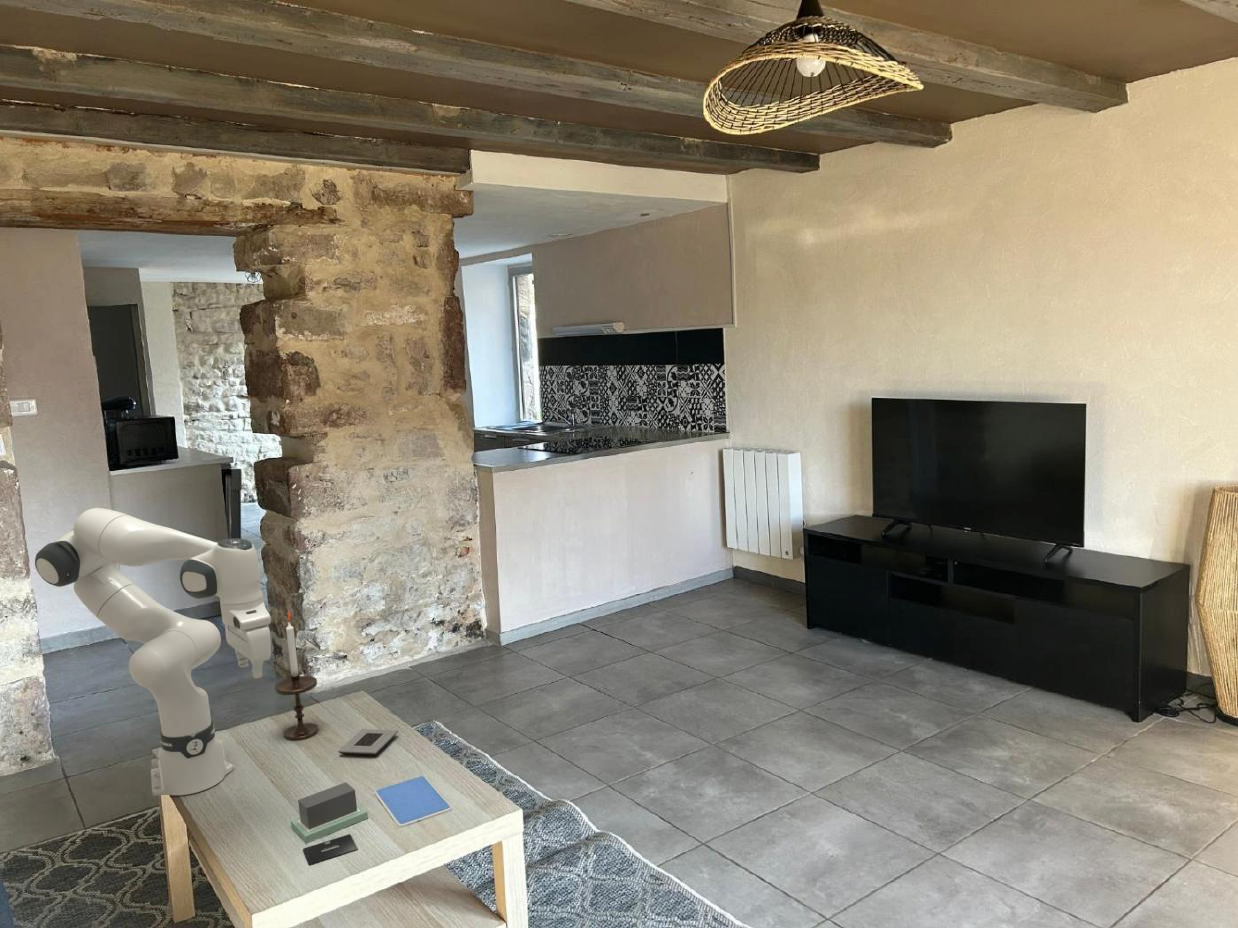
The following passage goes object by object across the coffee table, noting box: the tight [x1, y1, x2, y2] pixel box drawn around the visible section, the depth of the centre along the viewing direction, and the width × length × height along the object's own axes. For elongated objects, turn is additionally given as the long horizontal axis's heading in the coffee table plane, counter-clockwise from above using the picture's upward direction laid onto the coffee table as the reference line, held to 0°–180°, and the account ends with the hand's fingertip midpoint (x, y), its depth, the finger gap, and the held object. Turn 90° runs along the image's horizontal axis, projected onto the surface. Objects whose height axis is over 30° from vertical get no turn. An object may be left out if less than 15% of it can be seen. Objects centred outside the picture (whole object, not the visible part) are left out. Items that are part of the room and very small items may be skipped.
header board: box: [290, 801, 369, 844], centre depth 200 cm, size 9×14×4 cm, turn 130°
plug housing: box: [297, 782, 357, 830], centre depth 199 cm, size 5×11×5 cm, turn 130°
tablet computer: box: [374, 775, 453, 829], centre depth 207 cm, size 19×13×1 cm, turn 32°
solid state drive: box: [302, 834, 359, 866], centre depth 189 cm, size 7×10×1 cm
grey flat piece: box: [337, 728, 399, 756], centre depth 237 cm, size 13×10×2 cm
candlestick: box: [274, 610, 320, 742], centre depth 245 cm, size 11×11×35 cm
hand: (250, 671), depth 200 cm, fingers open, 8 cm apart
